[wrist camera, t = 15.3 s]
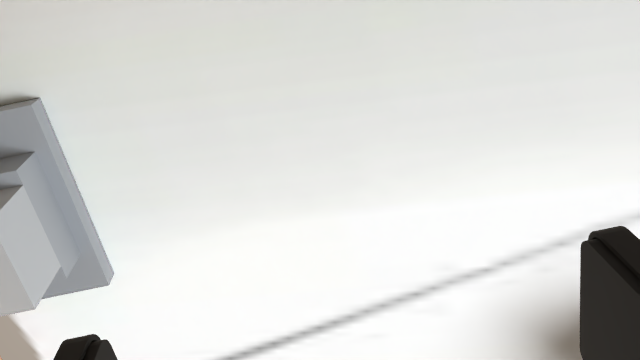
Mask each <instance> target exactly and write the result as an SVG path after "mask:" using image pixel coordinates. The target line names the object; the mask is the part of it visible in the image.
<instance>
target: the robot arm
mask: <svg viewBox="0 0 640 360" xmlns="http://www.w3.org/2000/svg"><path fill="white" fill-rule="evenodd" d="M580 351H581V355H582V358H583V360H640V239H638V238H637V237H636V236H635V235H634V234H633V233H632V232H630V231H629V230H628V229H627V228H625V227H624V226H618V227H613V228H608V229H603V230H598V231H593V232H592V233H590V235H589V238H588V240H587V241H584V242H582V244H581V276H580ZM54 360H117V357H116V355H115V353H114V351H113V349H112V347H111V344H110V343H109V341H107V340H100V338H99V337H98V336H97V335H95V334H92V335H87V336H82V337H77V338H72V339H67V340H65V341H63V342H62V344H61V345H60V347H59V349H58V351H57V354H56V356H55V358H54Z"/></svg>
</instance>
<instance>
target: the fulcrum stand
mask: <svg viewBox="0 0 640 360" xmlns="http://www.w3.org/2000/svg"><path fill="white" fill-rule="evenodd" d="M113 275H114V272H113V270H112V267H111V265H110V263H109V260H108V258H107V255H106V253H105V251H104V248H103V246H102V244H101V241H100V239H99V237H98V234H97V232H96V229H95V227H94V225H93V222H92V220H91V218H90V215H89V213H88V210H87V208H86V206H85V203H84V201H83V199H82V196H81V194H80V192H79V189H78V187H77V184H76V182H75V180H74V177H73V175H72V173H71V170H70V168H69V165H68V163H67V161H66V158H65V156H64V154H63V151H62V149H61V146H60V144H59V142H58V139H57V137H56V135H55V132H54V130H53V128H52V125H51V123H50V120H49V118H48V116H47V113H46V111H45V109H44V106H43V104H42V101H41V99H40V98H37V99H33V100H28V101H23V102H18V103H14V104H9V105H4V106H0V316H5V315H10V314H15V313H19V312H24V311H29V310H34V309H36V307H37V305H38V304H39V302H40V300H41V299H45V298H49V297H54V296H59V295H64V294H69V293H74V292H78V291H83V290H88V289H93V288H98V287H103V286H108V285H109V284H110V282H111V279H112V277H113Z"/></svg>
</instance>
